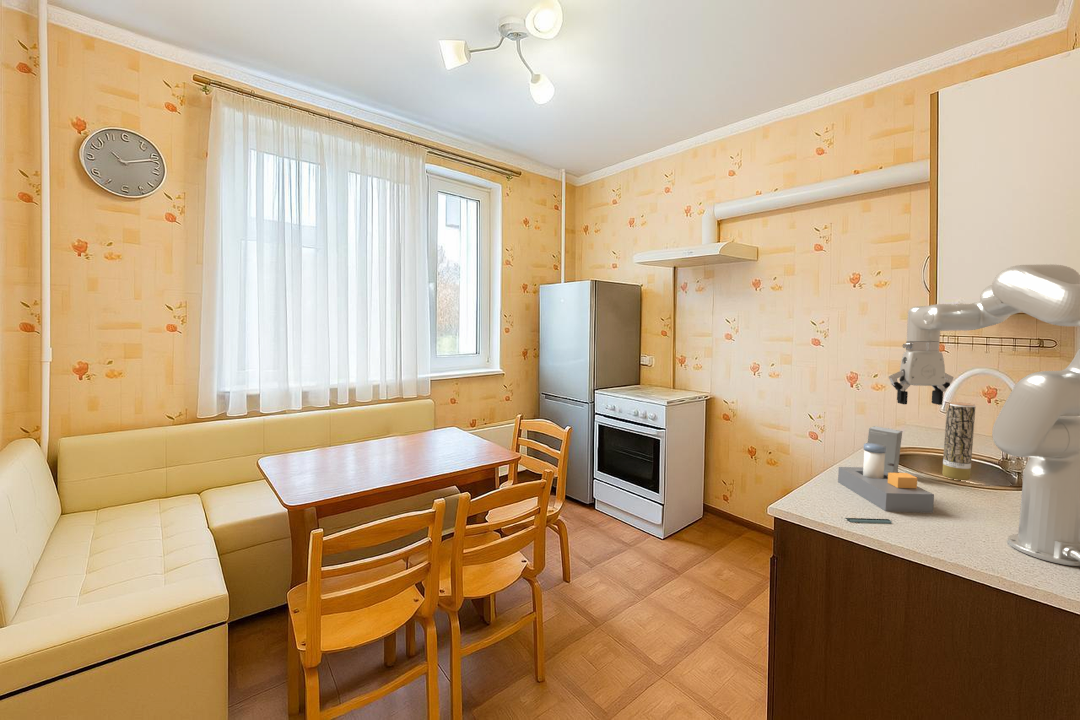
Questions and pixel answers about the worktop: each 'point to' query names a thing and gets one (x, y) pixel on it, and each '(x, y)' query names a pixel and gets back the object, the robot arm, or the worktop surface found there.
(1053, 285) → the robot arm
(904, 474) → the release slider
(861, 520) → the thin grey strip
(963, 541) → the worktop surface
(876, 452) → the cartridge
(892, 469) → the skincare box
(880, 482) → the housing
